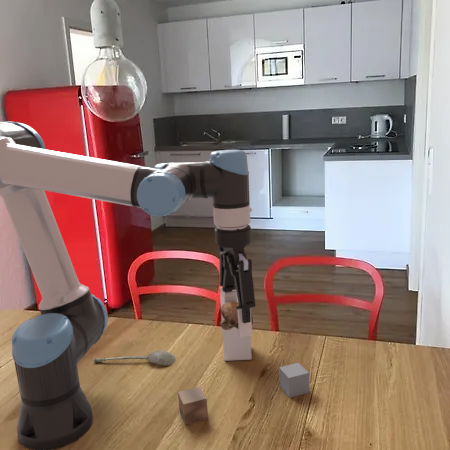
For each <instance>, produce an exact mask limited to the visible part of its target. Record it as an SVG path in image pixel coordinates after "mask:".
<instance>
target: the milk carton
mask: <svg viewBox="0 0 450 450" xmlns="http://www.w3.org/2000/svg"><path fill="white" fill-rule="evenodd" d="M222 287H223V286H220V288H219V289H220V290H219V291H220V292H219V293H220V309H221V308H222V305H223V304H224V293H225V292H223V290H222ZM232 291H236V290H232ZM236 298H237V302H238V297H237V292H236ZM238 303H239V302H238ZM220 315H221V321H222V320H224V318H223V316H222V314H221V313H220ZM221 328H222V327H221ZM221 330H222V331H221V332H222V344H223V345H222V346H223V360H224V361H228V362H229V361H249V360H250V361H251V360H252V359H253V358H252V340H251V339H252V338H251V336H252V335H249V336H244V337H240V336H239V329H237V328H235V327H234V328H232V329H231V330H224V329H223V328H222V329H221Z"/></svg>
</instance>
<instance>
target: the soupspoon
mask: <svg viewBox="0 0 450 450" xmlns="http://www.w3.org/2000/svg"><path fill="white" fill-rule="evenodd" d="M176 359H177V358H176V357H175V355H173V354H172V353H170V352H169V351H166V350H156V351H153V352H151V353H150V354H148V355H143V356H142V355H135V356H134V355H133V356H119V357H107V358H106V357H104V358H103V357H101V358H99V357H94V358H93V363H94V364H96V363H100V362H103V361H104V362H105V361H113V360H114V361H115V360H116V361H117V360H146V361H147V362H150V363H153V364H154V365H155V364H156V365H159V366H164V367H168V366H172V365H174V364H175V362H176Z"/></svg>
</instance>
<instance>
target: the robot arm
mask: <svg viewBox="0 0 450 450" xmlns="http://www.w3.org/2000/svg"><path fill="white" fill-rule="evenodd" d="M209 156H210V157H209V159H208V160H207V161H194V162H193V161H191V162H189V161H188V162H173V161H171V162H166V163H164V162H163V163H157V164H155V165H154V166H153V167H148V166H142V165H137V164H131V163H127V162H126V163H125V162H119V161H115V160H108V159H102V158H96V157H92V156H86V155H85V156H84V155H80V154H74V153H69V152H61V151H56V150H50V149H46V146H45V142H44V140H43V138H42V137H41V135H40V134H39V132H37V131H36V130H35V129H34V128H33V127H32V126H30V125H27V124H25V123H23V122H22V123H21V122H17V121H16V122H15V121H8V120H4V121H0V197H1V198H2V200H3V202H4V205H5V207H6V210H7V212H8V215H9V217H10V219H11V220H10V221H11V222H12V225H13V227H14V230H15V232H16V234H17V237H18V239H19V242H20V245H21V247H22V251H23V252H24V255H25V258H26V260H27V262H28V265H29V267H30V269H31V273H32V275H33V278H34V281H35V283H36V285H37V288H38V290H39V292H40V295H41V300H40V303H39V304H38V310H39V311H40V315H36V316H35V317H34V318H30V319H28V320H26V321H23V322H22V323H21V324H20V325H18V327H17V328H16V329H15V330H14V332H13V334H12V338H11V355H12V358H13V361H14V366H15V371H16V372H15V373H16V379H17V382H18V390H19V394H20V399H21V400H20V401H21V404H20V408H19V409H20V410H19V414H18V419H17V425H16V432H17V437H18V441H19V443H20V445H22V446H23V447H24V448H26V449H29V450H56V449H58V448H59V449H60V448H63V447H65V446H67V445H70V444H72V443H74V442H75V441H77V440H78V439H80V438H82V437H83V436H84V435H86V434H87V432H88V431H89V430H90V428H91V426H92V425H93V424H94V423H93V422H94V415H93V408H92V405H91V403H90V401H89V400H88V398H87V396H86V395H85V393H84V391H83V389H82V387H81V384H80V377H79V369H78V364H79V362H80V361H81V360H82V359H83V358H84V356H86V354H87V353H88V352H89V350H91V348H92V347H93V346H94V345H96V344H97V343H98V342H99V340H100V339H101V337H102V336H103V334H104V332H105V330H106V328H107V326H108V311H107V307H106V306H105V304H104V303H103V301H102V300H101V299H100V298H99V297H96V296H95V295H94V294H92V293H91V291H90V288H89V286H86V285H84V284H82V283H80V281H79V278H78V276H77V273H76V270H75V268H74V265H73V262H72V259H71V257H70V255H69V252H68V249H67V246H66V244H65V241H64V239H63V236H62V234H61V230H60V228H59V225H58V223H57V221H56V217H55V216H54V215H55V214H54V212H53V210H52V208H51V204H50V202H49V199H48V197H47V194H46V191H47V192H51V193H52V192H53V193H57V194H63V195H68V196H74V197H80V198H85V199H90V200H97V201H102V202H105V203H106V202H107V203H111V204H118V205H122V206H123V205H124V206H128V207H135V208H139V209H141V210H142V211H144V212H145V213H146V214H147V215H150V216H152V217H157V218H160V217H166V216H168V215H172V214H173V213H175V212H176V211H178V210H179V209H180V208H181V207H182V205H183V204H184V203H186V202H187V201H189V200H196V199H197V200H198V199H212V211H213V212H212V213H213V224H214V226H216V227H215V228H214V236H215V238H214V239H215V245H217V246H218V253H219V286H220V287H222V290H223V292H225V293H224V304H225V303H227V302H229V301H236V302H237V298H236V292H237V297H238V302H239V306H237V307H236V309H237V310H238V328H239V336H240V337H244V336H249V335H251V336H252V335H253V324H252V320H251V314H252V308H255V307H256V298H255V290H254V289H255V288H254V279H253V272H252V271H253V265H252V264H253V261H252V259H251V258H248V259H247V253H246V252H245V248H246V246H249V245H250V244H251V243H252V228H251V225H250V223H251V213H252V211H253V209H252V207H251V206H250V203H251V201H250V176H249V175H250V171H249V166H248V165H249V164H248V156H247V154H246V152H245V151H244V150H241V149H223V150H215V151H212V152H210V155H209ZM232 290H236V291H232Z"/></svg>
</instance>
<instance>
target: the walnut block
mask: <svg viewBox="0 0 450 450" xmlns="http://www.w3.org/2000/svg"><path fill="white" fill-rule="evenodd" d="M177 397H178V407H179V413H180V416H181V418H182V421H183V423H184V426H189V425H191V424H195V423H199V422H202V421H207V420H209V413H208V412H209V411H208V399H207V397H206V395H205V393H204V391H203V389H202V387H201V386H196V387H192V388H188V389H183V390H180V391H177Z"/></svg>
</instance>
